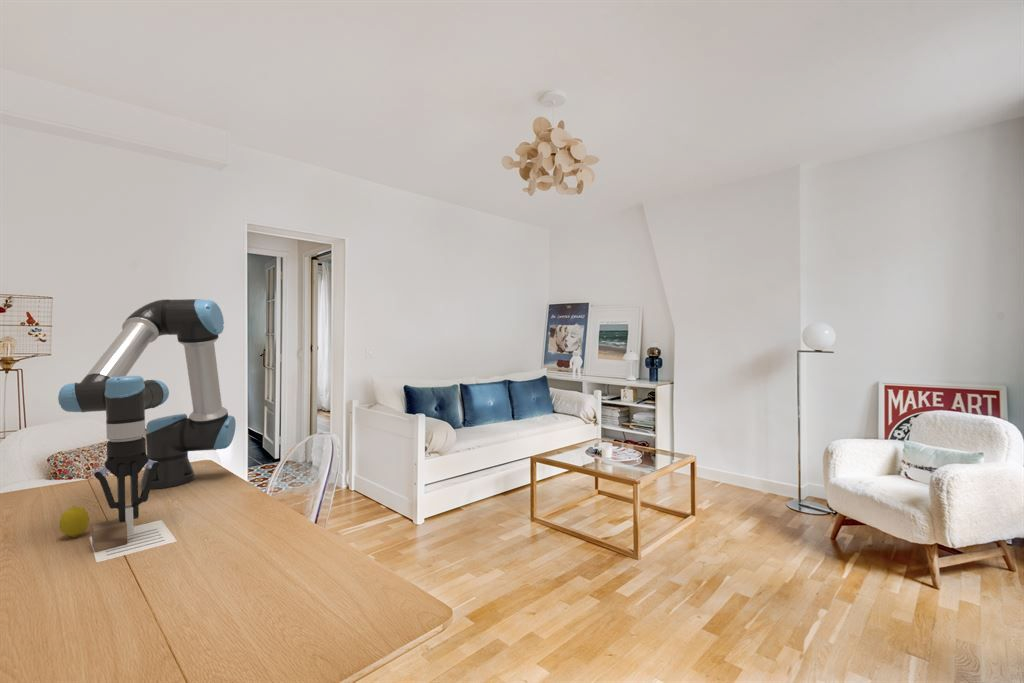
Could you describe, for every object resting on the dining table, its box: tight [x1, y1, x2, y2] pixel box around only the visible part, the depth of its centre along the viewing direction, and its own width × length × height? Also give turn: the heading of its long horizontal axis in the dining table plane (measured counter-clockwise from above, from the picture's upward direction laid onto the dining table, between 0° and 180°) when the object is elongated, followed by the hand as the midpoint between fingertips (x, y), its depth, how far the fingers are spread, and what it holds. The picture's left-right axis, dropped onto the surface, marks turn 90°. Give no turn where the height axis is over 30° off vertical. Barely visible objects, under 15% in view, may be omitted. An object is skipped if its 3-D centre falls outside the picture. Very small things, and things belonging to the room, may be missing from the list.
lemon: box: [59, 505, 90, 538], centre depth 121 cm, size 6×6×8 cm
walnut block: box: [91, 518, 127, 552], centre depth 116 cm, size 6×6×5 cm
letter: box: [89, 519, 177, 563], centre depth 119 cm, size 15×20×1 cm
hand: (129, 532), depth 119 cm, fingers closed
